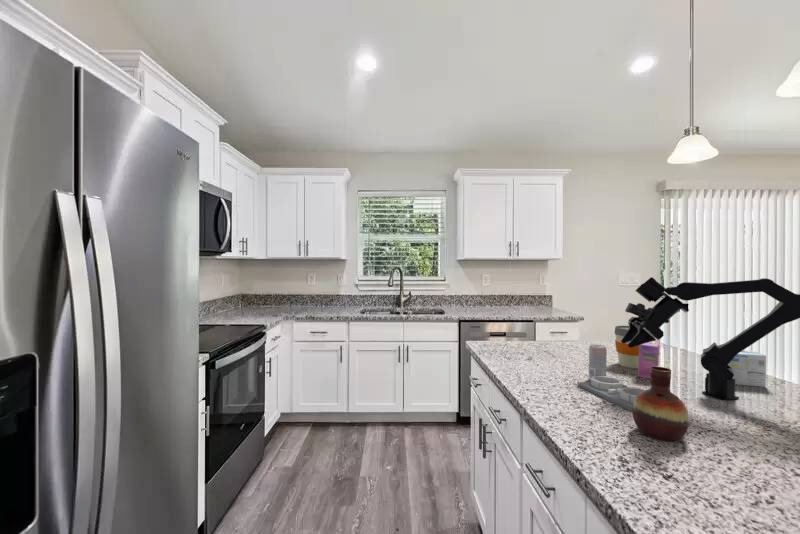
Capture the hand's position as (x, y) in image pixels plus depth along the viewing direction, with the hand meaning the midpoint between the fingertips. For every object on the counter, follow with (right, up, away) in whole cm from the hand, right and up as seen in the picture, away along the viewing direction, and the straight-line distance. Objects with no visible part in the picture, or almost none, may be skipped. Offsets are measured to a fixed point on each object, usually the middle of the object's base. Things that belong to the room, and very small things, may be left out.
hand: (625, 344), depth 129 cm
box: (+15, -14, +10) cm, 23 cm away
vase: (-15, -13, -39) cm, 44 cm away
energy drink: (-8, -13, +3) cm, 16 cm away
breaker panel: (-9, -13, -13) cm, 21 cm away
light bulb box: (+42, -14, +3) cm, 44 cm away
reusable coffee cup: (+17, -14, +24) cm, 32 cm away
